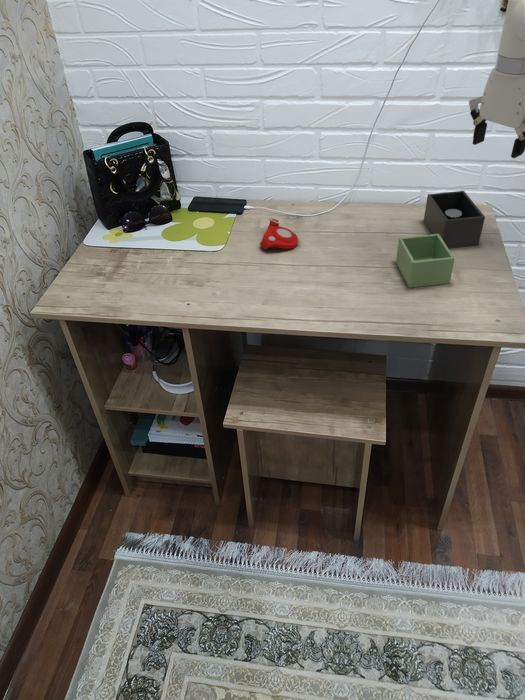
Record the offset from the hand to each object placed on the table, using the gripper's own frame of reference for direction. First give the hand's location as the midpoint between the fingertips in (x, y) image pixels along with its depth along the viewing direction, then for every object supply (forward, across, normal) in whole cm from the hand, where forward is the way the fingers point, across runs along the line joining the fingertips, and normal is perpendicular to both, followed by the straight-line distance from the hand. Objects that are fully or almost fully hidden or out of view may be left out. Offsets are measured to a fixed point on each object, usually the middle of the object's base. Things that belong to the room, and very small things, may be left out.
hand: (496, 149), depth 123 cm
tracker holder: (+23, +32, +35) cm, 53 cm away
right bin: (+23, +7, +2) cm, 24 cm away
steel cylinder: (+22, +7, +2) cm, 23 cm away
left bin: (+23, 0, +19) cm, 30 cm away
